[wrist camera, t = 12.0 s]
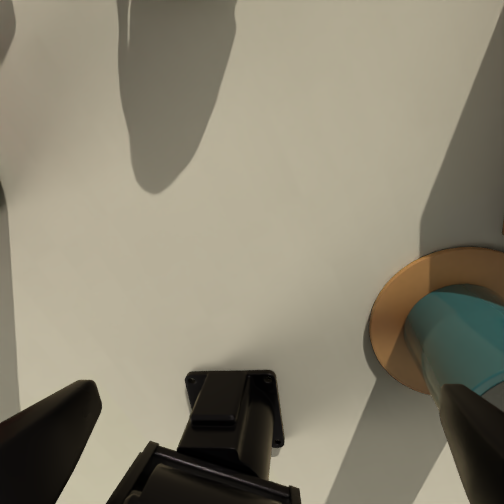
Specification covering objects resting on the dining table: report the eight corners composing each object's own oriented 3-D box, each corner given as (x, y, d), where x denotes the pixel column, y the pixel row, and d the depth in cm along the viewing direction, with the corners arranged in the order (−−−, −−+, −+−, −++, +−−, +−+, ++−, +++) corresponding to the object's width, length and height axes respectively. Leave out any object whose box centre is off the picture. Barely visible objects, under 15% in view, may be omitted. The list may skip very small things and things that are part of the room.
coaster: (540, 393, 20) (544, 397, 20) (371, 394, 22) (372, 398, 22) (563, 238, 17) (569, 240, 17) (366, 254, 19) (367, 256, 19)
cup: (509, 371, 20) (615, 488, 13) (403, 373, 21) (450, 481, 14) (519, 279, 18) (649, 361, 11) (403, 286, 19) (457, 364, 12)
